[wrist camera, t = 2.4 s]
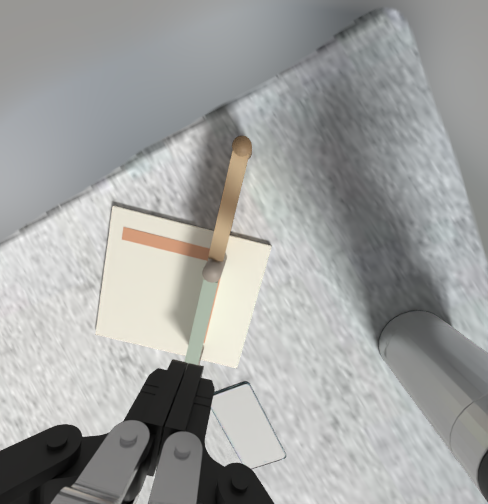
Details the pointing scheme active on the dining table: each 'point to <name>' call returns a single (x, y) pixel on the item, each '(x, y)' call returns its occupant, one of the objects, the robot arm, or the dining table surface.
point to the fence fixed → (204, 309)
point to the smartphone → (246, 426)
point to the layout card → (176, 286)
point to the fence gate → (230, 196)
